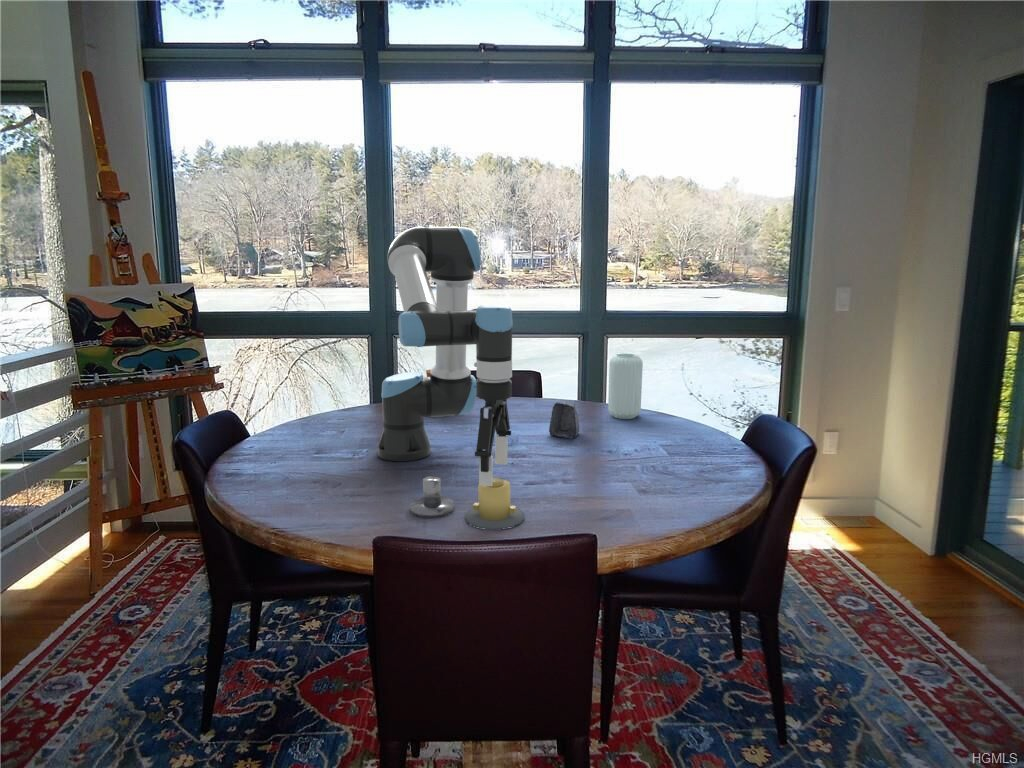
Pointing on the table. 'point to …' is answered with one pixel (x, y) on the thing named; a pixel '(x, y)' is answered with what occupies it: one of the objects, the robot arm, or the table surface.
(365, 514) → the table surface
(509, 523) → the rubber mat
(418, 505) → the metal disc with peg
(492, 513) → the cap
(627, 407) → the vase
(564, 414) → the stone
